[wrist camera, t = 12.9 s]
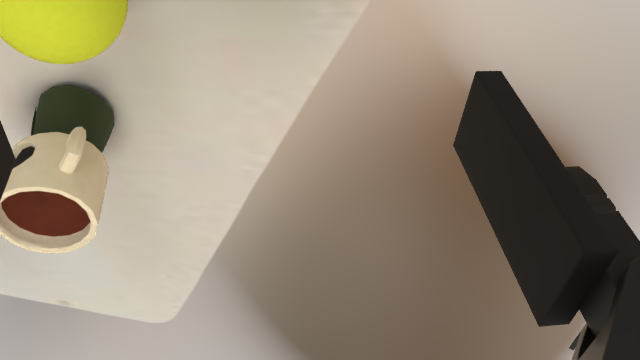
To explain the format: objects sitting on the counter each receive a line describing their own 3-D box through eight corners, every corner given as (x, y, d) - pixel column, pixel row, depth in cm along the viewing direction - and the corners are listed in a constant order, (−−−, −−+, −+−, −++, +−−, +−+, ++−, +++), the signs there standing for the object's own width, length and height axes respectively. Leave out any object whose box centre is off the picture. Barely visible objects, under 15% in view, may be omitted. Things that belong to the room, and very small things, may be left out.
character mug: (53, 44, 44) (10, 152, 35) (141, 82, 47) (123, 189, 38) (15, 139, 50) (-31, 253, 40) (96, 166, 53) (70, 278, 44)
